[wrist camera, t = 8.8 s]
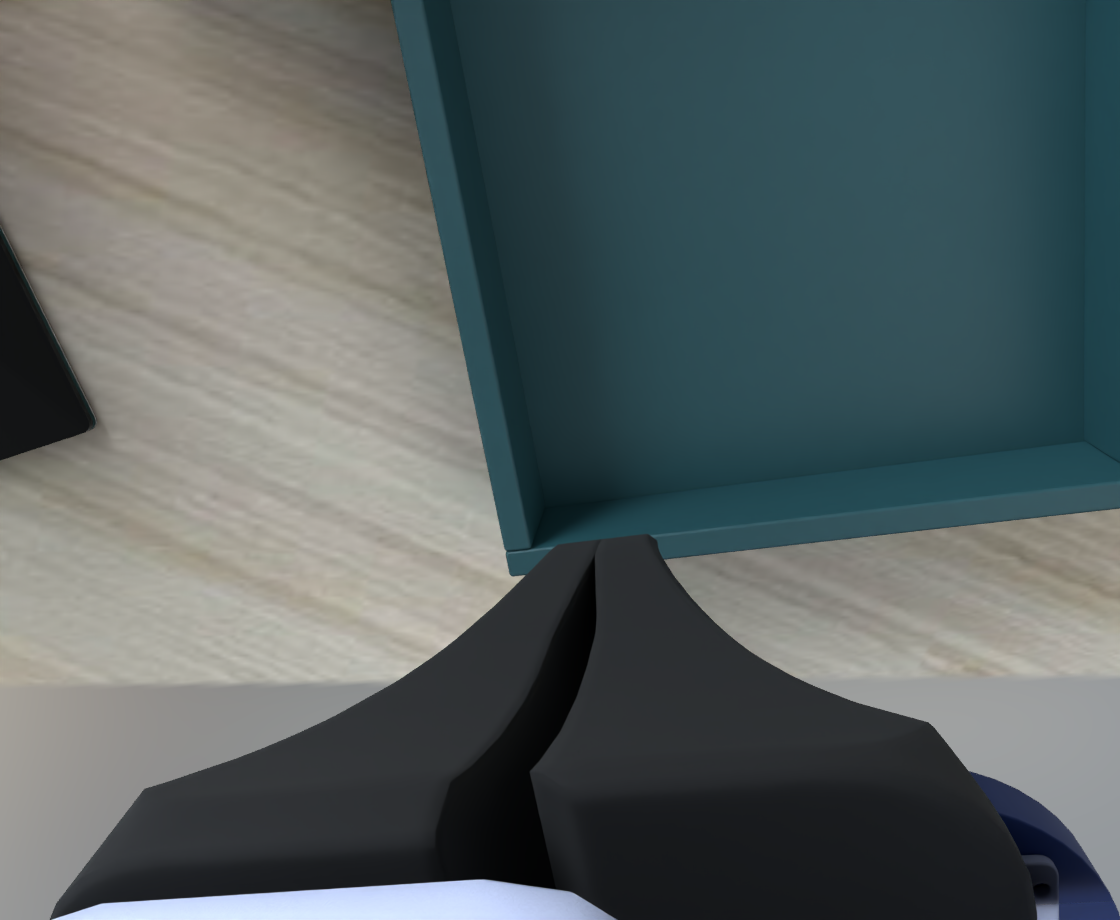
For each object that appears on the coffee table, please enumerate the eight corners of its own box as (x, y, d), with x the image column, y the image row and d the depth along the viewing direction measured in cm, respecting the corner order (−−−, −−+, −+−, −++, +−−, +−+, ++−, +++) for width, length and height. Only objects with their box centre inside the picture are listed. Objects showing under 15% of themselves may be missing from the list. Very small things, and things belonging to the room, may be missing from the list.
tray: (1101, 455, 20) (1175, 503, 17) (529, 524, 22) (509, 578, 19) (1110, -439, 15) (1215, -580, 12) (378, -242, 17) (322, -325, 14)
